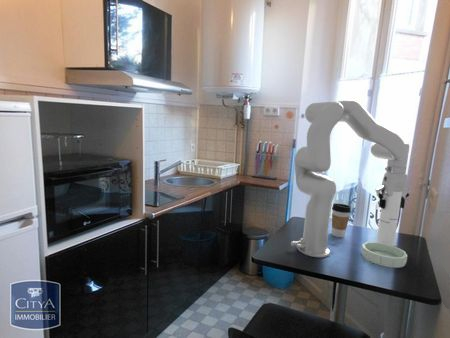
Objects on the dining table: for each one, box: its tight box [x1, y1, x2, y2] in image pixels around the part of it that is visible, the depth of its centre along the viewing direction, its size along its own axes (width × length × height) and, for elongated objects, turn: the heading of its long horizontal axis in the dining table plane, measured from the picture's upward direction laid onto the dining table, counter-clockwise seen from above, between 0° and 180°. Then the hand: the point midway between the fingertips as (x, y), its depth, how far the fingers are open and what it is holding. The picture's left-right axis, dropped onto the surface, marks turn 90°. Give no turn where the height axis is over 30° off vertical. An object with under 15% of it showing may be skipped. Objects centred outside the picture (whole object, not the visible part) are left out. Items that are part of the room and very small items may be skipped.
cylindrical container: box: [375, 190, 402, 246], centre depth 136 cm, size 7×7×25 cm
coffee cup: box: [331, 202, 351, 238], centre depth 144 cm, size 8×8×15 cm
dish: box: [361, 241, 408, 269], centre depth 120 cm, size 16×16×4 cm
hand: (391, 207), depth 136 cm, fingers open, 9 cm apart
